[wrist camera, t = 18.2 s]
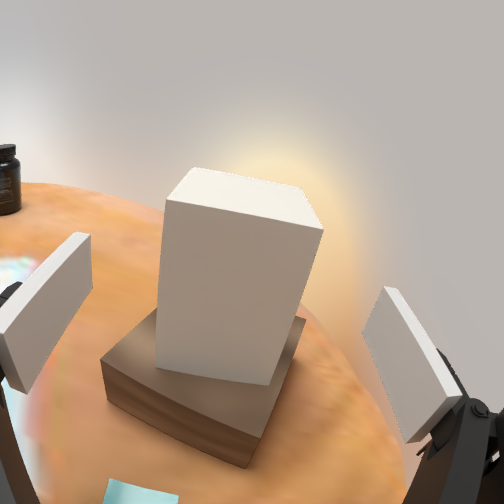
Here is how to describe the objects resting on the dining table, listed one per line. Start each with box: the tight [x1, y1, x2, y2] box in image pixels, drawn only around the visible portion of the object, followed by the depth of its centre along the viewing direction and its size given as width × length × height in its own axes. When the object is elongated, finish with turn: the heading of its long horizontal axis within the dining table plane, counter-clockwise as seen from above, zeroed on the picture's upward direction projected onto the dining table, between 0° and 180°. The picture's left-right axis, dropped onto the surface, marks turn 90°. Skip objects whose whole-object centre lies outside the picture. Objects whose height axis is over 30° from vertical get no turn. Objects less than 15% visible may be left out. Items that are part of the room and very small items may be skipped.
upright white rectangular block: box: [155, 167, 324, 386], centre depth 22 cm, size 8×8×12 cm
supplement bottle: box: [0, 144, 22, 215], centre depth 43 cm, size 7×7×12 cm
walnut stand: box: [100, 308, 306, 469], centre depth 26 cm, size 14×12×5 cm
